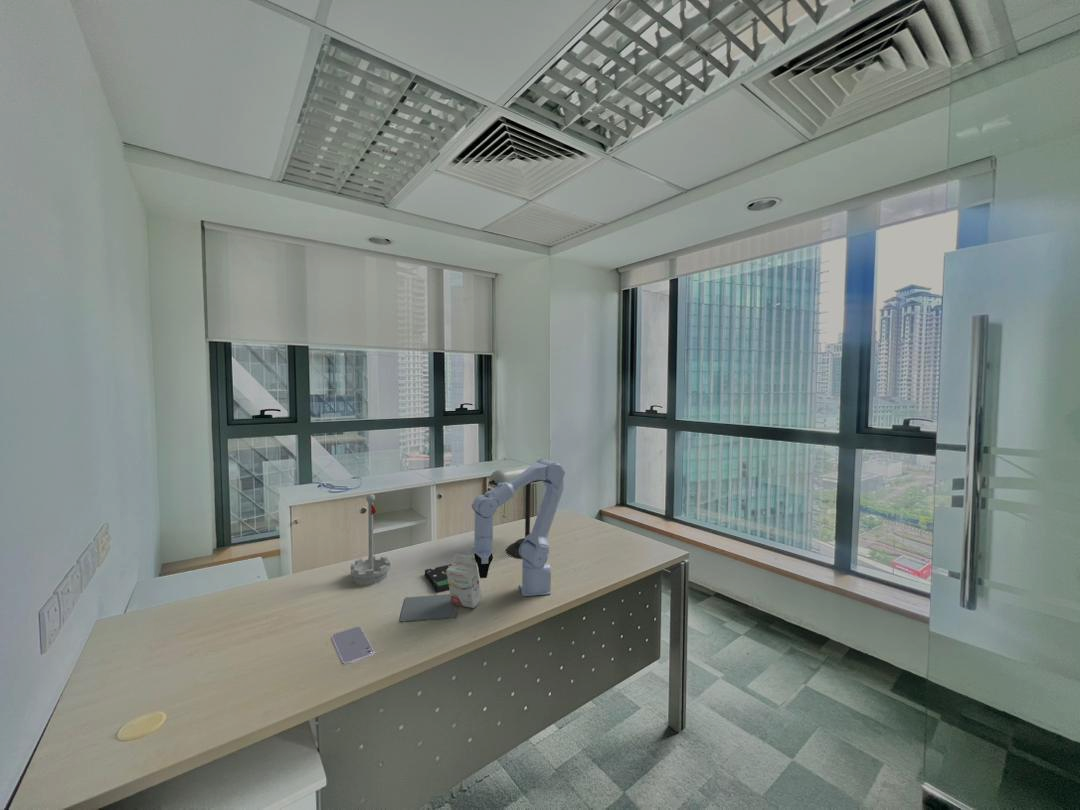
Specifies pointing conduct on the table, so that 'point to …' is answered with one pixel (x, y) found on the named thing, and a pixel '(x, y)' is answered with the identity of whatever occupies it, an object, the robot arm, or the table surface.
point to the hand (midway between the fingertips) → (483, 577)
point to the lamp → (496, 478)
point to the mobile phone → (352, 645)
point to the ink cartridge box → (464, 581)
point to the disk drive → (438, 578)
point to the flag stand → (370, 558)
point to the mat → (428, 608)
